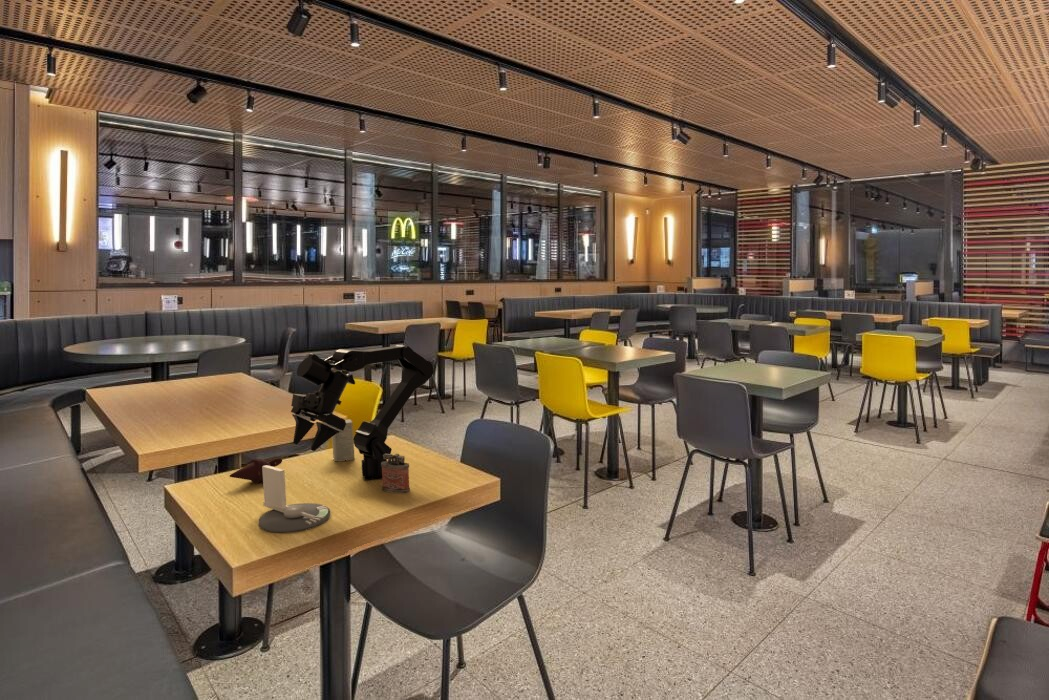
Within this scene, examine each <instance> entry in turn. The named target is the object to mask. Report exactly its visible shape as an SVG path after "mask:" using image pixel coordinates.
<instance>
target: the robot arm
mask: <svg viewBox="0 0 1049 700" xmlns="http://www.w3.org/2000/svg"><path fill="white" fill-rule="evenodd" d="M391 361H398V362H399V365H400V366H401V367H402V368H403V370H402V373H401V374H402V375H401V380H400V383H399V384H398V385H397V386H396V387H395V390H393V392H392V393H391V395H390V396H389V398H388V399H387V400H386V402H385V403H384V405H383V406H382V407H381V409H380V410H379V411H378V413H377V414H376V416H375V417H374V418H373V419H372V420H370V421H365V420H362V422H361V424H360V426H359V427H358V428H357V430H355V431H354V433H355V435H353V440H354V448H356V449H357V450H358V452H359V455H363V459H362V460H361V474H362V477H364V480H365V481H368V480H377V479H382V466H381V463H382V462H384V461H388V459H383V455H384V454H392V447H391V446H389V445H387V443H386V441H387V438H388V430H389V428H390V427H391V425H392V424H393V422H394V420H395V419H396V418H397V417H398V415H399V414H400V412H401V411H402V409H403V408H404V407H405V405H406V403H407V402H408V400H410V398H411V396H412V395H413V394H414V393H415V391H416V390H417V389H418V388H420V387H421V386H423V385H425V384H426V383H427V382H428V381H429V380H430V379H431V378H432V377H433V375H434V373H435V371H434V365H433V364H432V362H431V361H429V360H426V359H425V358H424V357H423V356H421V355H420V354H419V353H417V352H416V351H415V350H413V349H412V348H411V347H410V346H409V345H404V344H396V345H392V346H385V347H379V348H371V349H365V350H360V349H348V348H347V349H346V348H344V349H343V348H339V349H336V350H335V351H334V353H333V355H331V356H329V357H328V358H325V359H322V358H321V357H320V356H319V355H317V354H315V353H309V354H308V356H307V357H306V358H304V359H303V360H302V361H301V362H300V363H299V364H298V366H297V368H296V375H297V377H300V378H301V379H303V380H305V381H307V382H309V383H311V384H313V385H315V386H320V385H321V386H320V388H319V390H315V391H312V393H309V392H307V393H306V394H300V393H292V400H291V404H290V405H291V407H292V408H291V410H290V413H292V414H291V415H292V417H293V418H294V421H295V428H294V434H293V435H294V436H293V439H292V440H293V442H292V443H293V444H294V445H298V444H299V443H300V442H301V441H302V440H303V439H304V437H305V436H307V434H308V433H309V432H310V430H311V429H312V428H313V427H314V425H315V423H316V428H317V430H316V432H315V435H314V438H313V441H312V443H311V447H310V451H313V452H315V451H316V450H318V449H319V448H320V447H321V446H322V445H324V444H325V443H327V442H328V441H329V440H330V439H332V436H334V435H335V434H336V433H339V432H340V431H338V430H342V431H343V430H344V428H345V426H346V421H345V420H346V419H344V418H342V417H340V416H338V415H336V414H334V412H335V410H336V407H337V405H339V406H341V403H342V402H343V401H341V396H342V395H343V392H344V391H345V389H346V386H347V384H350V385H355V384H356V381H355V378H354V375H353V374H352V373H354V372H357V371H360V370H361V369H364V368H365V367H367V366H369V365H372V364H373V365H374V364H379V363H386V362H391ZM333 370H336V371H333ZM342 371H344V372H349V373H347V374H346V373H344V372H342Z"/></svg>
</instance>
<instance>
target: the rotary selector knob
mask: <svg viewBox="0 0 1049 700" xmlns="http://www.w3.org/2000/svg"><path fill="white" fill-rule="evenodd" d="M262 472H263V481H262V483H263V484H262V485H263V507H265V508H267V509H271V510H273V509H274V510H277V511H280V512H283V513H284V517H286V518H298V517H301V516H305V517H308V518H311V519H315V516H314V515H311V514H308V513H306V506H305V505H299V504H300V503H297V504H298V505H292V504H290V505H291V506H288V505H289V504H288V505H287V494H286V493H287V492H286V477H285V469H284V468H283V469H282V468H279V467H276V466H275V467H272V466H268V465H265V466H262Z"/></svg>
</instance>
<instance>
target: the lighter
mask: <svg viewBox="0 0 1049 700" xmlns="http://www.w3.org/2000/svg"><path fill="white" fill-rule="evenodd" d="M405 458H406V457H405V455H400V454H399V453H395V454H393V453H391V454H384V455H383V459H387V461H384V462H382V463H381V466H382V478H381V479H382V481H381V482H382V486H381V490H383V492H387V493H391V494H392V493H393V494H409V493H410V492H411V488H410V469H409V468H410V463H408V462H405ZM408 492H409V493H408Z"/></svg>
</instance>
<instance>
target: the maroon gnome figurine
mask: <svg viewBox="0 0 1049 700" xmlns="http://www.w3.org/2000/svg"><path fill="white" fill-rule="evenodd" d="M282 463H283V459H282V458H281V457H275V458H272V459H271V460H269V461H266V459H262V458H256V459H255V458H252V459H251V460H250V461H248V462H247V464H246V465H245V466H243V467H242V468H240V469H238V470H236V471H234V472H232V473H231V474H229V478H235V479H240V480H247V481H251V483H252V482H253V483H254V484H257V485H258V484H259V483H261V482H263V472H262V466H265V465H268V466H272V467H275V468H276V467H277V466H279V465H281V464H282Z"/></svg>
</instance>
